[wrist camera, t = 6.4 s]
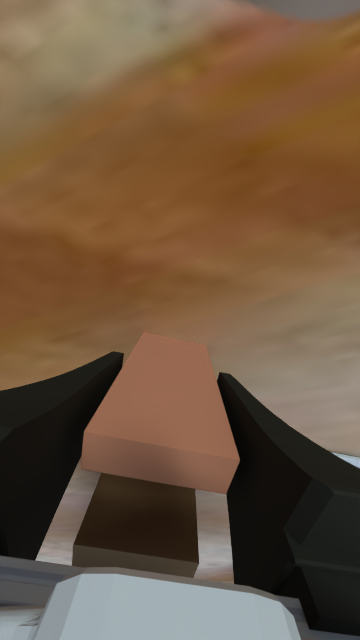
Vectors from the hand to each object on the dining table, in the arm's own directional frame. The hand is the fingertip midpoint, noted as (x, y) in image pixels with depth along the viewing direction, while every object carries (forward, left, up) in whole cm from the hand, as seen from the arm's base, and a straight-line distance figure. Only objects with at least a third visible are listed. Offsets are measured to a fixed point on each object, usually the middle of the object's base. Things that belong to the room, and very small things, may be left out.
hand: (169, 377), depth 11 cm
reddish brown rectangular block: (0, 0, -4) cm, 4 cm away
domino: (0, +5, -4) cm, 7 cm away
